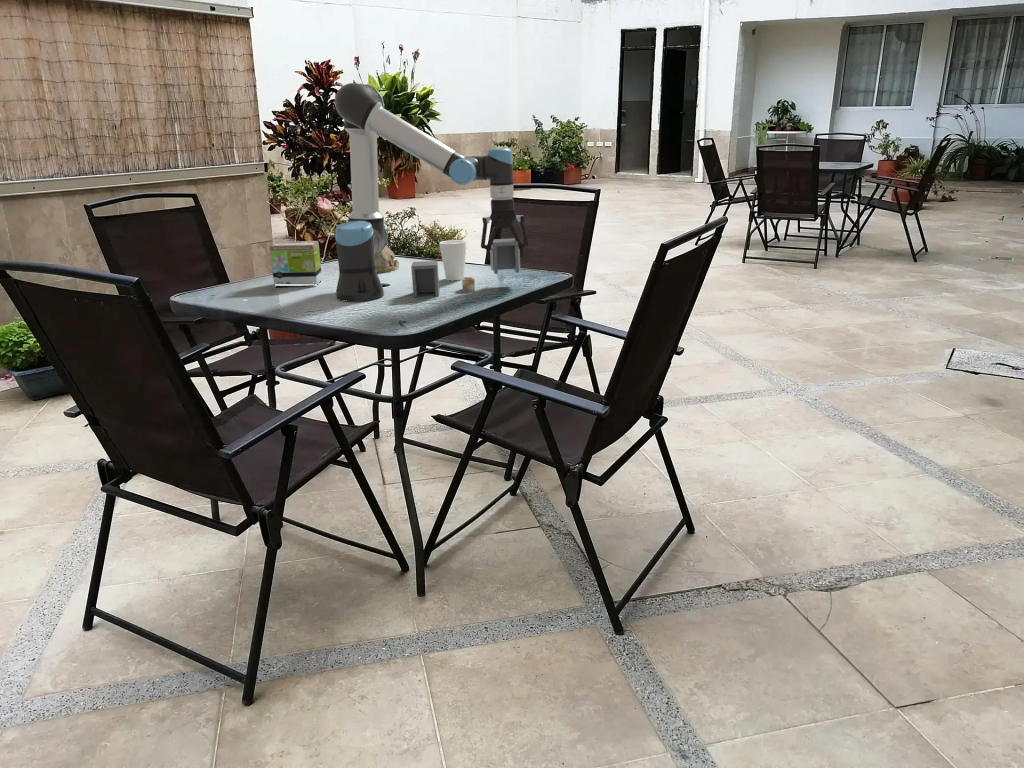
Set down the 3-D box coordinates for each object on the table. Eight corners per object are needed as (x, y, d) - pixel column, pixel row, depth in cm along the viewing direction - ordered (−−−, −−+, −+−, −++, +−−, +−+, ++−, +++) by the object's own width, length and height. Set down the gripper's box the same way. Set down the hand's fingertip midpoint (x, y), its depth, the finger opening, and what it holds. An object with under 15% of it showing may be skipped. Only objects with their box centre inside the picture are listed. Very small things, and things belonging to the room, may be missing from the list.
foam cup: (470, 276, 279) (468, 239, 275) (466, 281, 271) (464, 243, 266) (444, 276, 280) (441, 240, 276) (439, 281, 272) (436, 244, 267)
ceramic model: (391, 273, 290) (388, 246, 286) (362, 273, 292) (360, 246, 289) (403, 266, 303) (401, 241, 299) (376, 266, 305) (374, 241, 302)
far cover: (494, 273, 254) (493, 243, 251) (492, 269, 262) (491, 239, 259) (519, 272, 255) (517, 241, 252) (516, 268, 263) (515, 238, 259)
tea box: (274, 288, 270) (268, 245, 266) (281, 282, 280) (275, 241, 275) (317, 286, 271) (312, 243, 266) (323, 281, 280) (318, 239, 275)
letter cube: (462, 291, 255) (462, 279, 253) (462, 289, 259) (462, 276, 257) (475, 291, 255) (474, 278, 254) (474, 288, 259) (474, 276, 257)
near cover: (413, 297, 249) (411, 266, 245) (415, 292, 256) (412, 261, 253) (438, 296, 249) (436, 265, 246) (439, 291, 257) (437, 260, 253)
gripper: (469, 201, 247) (474, 272, 255) (535, 197, 248) (538, 268, 256) (469, 199, 254) (473, 268, 262) (533, 195, 255) (535, 264, 263)
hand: (505, 268), depth 259 cm, fingers closed on far cover, 8 cm apart
